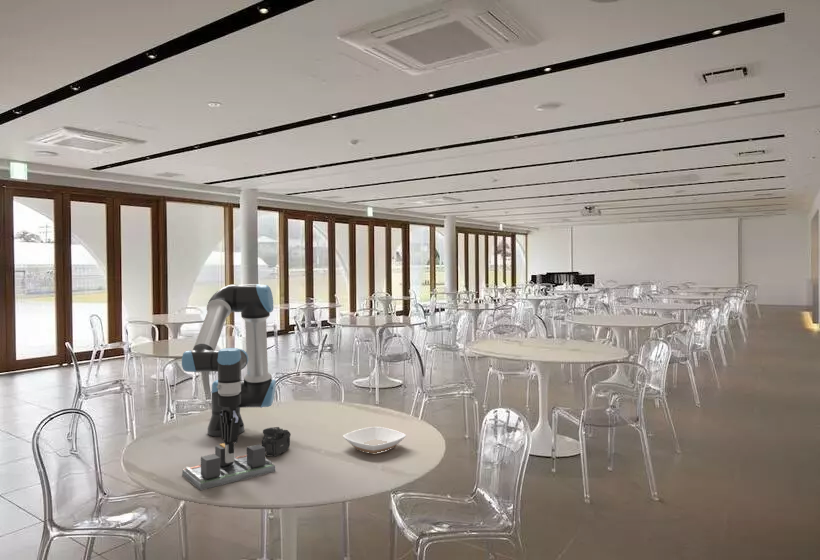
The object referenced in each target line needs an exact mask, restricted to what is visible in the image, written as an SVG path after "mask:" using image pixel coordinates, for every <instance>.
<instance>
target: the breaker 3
mask: <svg viewBox="0 0 820 560" xmlns="http://www.w3.org/2000/svg"><path fill="white" fill-rule="evenodd" d="M246 455H247V464H248V465H249V466H251V467H253V468H254V467H258V466H263V465H265V458H266V452H265V447H263V446H262V444H259V443H258V444H255V445H249V446H248V445H247V446H246Z"/></svg>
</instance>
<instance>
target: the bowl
mask: <svg viewBox="0 0 820 560" xmlns="http://www.w3.org/2000/svg"><path fill="white" fill-rule="evenodd" d="M406 437H407V434H405V433H404V432H401V431H398V430H396V429H392V428H388V427H383V426H367V427H363V428H360V429H355V430H352V431H349V432H347V433H344V434H343V435H342V438H344V440H345V441H347V442H348V443H349V444H350V445H351V446H353V448H355V450H357V449H358V450H357V451H359V450H361V451H364V452H369V453H377V452H381V451H385V450H388V449H390V448H393V447H394V446H395V447H396V446H398V444H400V442H402V441H403V440H404V439H405V438H406ZM374 439H377V440H382V441H387V443H383V444H378V445H369V444H364V442H367V441H370V440H374ZM395 447H394V448H395ZM394 448H393V449H394ZM361 451H360V452H361ZM364 452H363V453H364Z"/></svg>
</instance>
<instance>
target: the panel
mask: <svg viewBox="0 0 820 560" xmlns="http://www.w3.org/2000/svg"><path fill="white" fill-rule="evenodd" d="M275 472H276V465H275V464H273V461H271V460H270V459H267V458H266V457H265V465H263V466H258V467H254V468H253V467H251V466H249V465H248V464H247V454H245V455H239V456H236V457H235V456H234V462H233V464H230V465H225V466H220V476H217V477H213V478H209V479H206V478H204V477H203V476H202V475H201V464H200V465H196V466H191V467H189V466H185V468H183V469H182V476H183V477H184V478H185V479H186V480H188V482H190V483H191V484H192V485H193V486H195V487H196V488H197V489H198V490H199V491H203V490H206V489H207V490H208V489H211V488H215V487H218V486H224V485H226V484H231V483H235V482H239V481H243V480H246V479H251V478H254V477H258V476H263V475H266V474H270V473H275Z"/></svg>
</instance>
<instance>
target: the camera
mask: <svg viewBox="0 0 820 560" xmlns="http://www.w3.org/2000/svg"><path fill="white" fill-rule="evenodd" d="M262 434H263V437H262V439H261V446H263V447H265V456H267V457H277V456H279V455H281V454H283V453H285V452H286V451H288V449H290V446H291V434H292V433H291V432H290V431H289V430H287V429H283V428H281V427H279V426H274V427H267V428H264V429H263V430H262Z"/></svg>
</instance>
